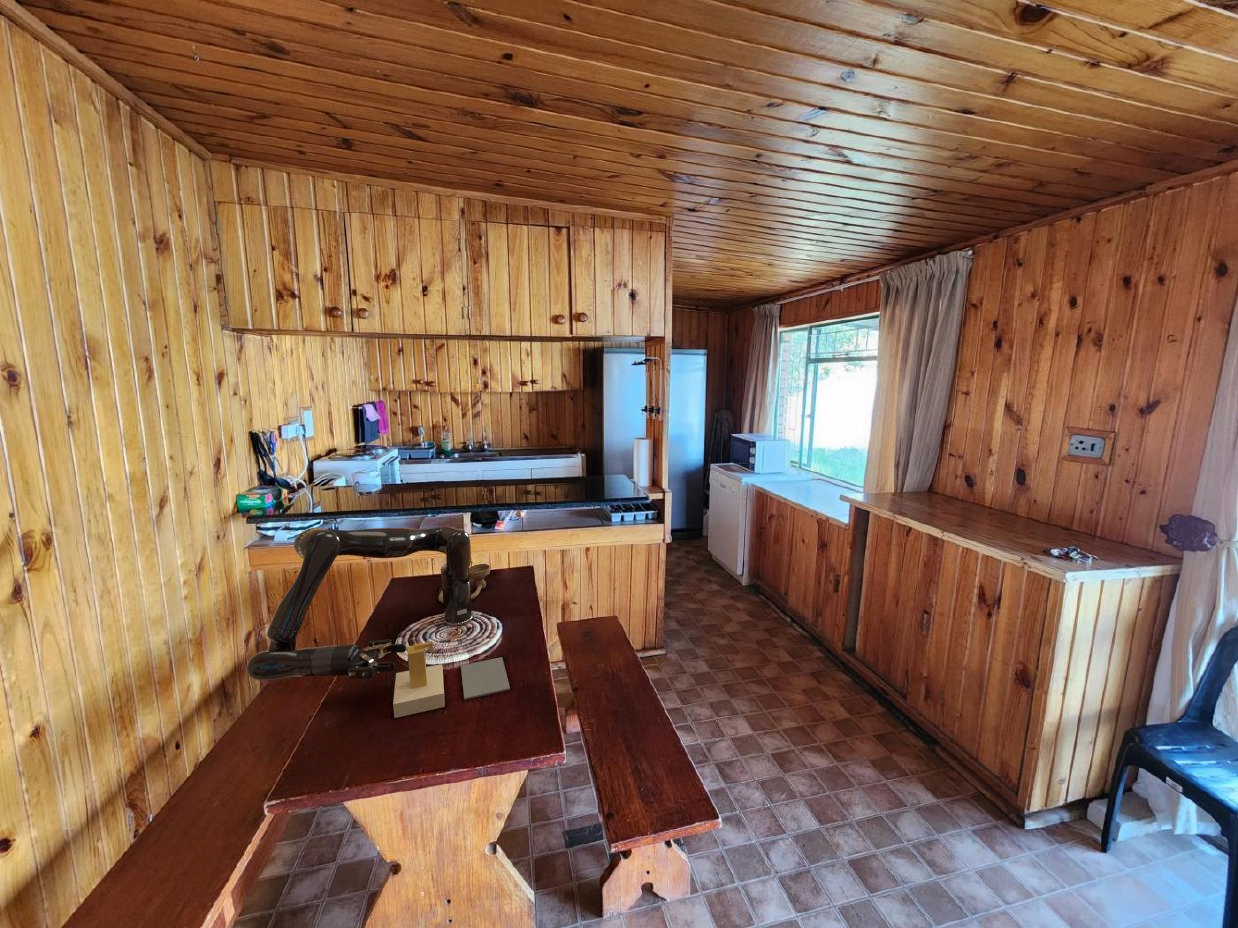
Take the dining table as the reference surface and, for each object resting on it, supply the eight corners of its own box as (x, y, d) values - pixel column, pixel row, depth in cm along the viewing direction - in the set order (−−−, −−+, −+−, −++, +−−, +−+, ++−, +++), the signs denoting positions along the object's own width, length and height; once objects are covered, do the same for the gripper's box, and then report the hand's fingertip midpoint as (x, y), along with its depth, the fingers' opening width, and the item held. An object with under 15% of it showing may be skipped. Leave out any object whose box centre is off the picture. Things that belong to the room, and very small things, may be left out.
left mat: (460, 667, 149) (460, 665, 149) (502, 658, 153) (502, 656, 153) (464, 700, 134) (464, 698, 134) (510, 689, 138) (509, 687, 138)
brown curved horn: (434, 610, 186) (486, 604, 187) (430, 588, 184) (483, 582, 186) (449, 583, 209) (496, 577, 211) (446, 563, 208) (493, 558, 209)
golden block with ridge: (411, 680, 136) (407, 642, 134) (435, 675, 138) (432, 638, 136) (410, 688, 132) (407, 650, 130) (435, 683, 135) (432, 645, 132)
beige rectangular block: (397, 685, 140) (396, 672, 139) (443, 676, 144) (442, 663, 143) (394, 718, 127) (393, 703, 126) (444, 706, 131) (443, 693, 131)
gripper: (321, 662, 124) (389, 658, 125) (346, 632, 138) (407, 629, 139) (324, 690, 125) (392, 685, 127) (349, 657, 139) (410, 654, 141)
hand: (400, 656), depth 133 cm, fingers open, 8 cm apart
